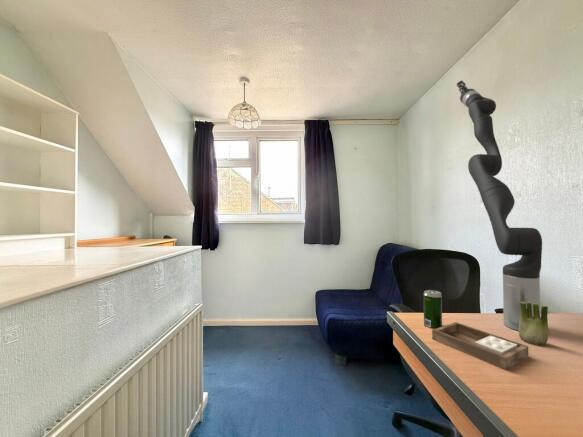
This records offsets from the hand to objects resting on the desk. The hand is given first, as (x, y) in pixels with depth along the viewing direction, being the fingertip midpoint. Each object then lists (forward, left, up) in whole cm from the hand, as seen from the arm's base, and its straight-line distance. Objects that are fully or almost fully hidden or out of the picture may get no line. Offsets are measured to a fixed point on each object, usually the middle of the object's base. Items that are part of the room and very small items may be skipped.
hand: (461, 90), depth 147 cm
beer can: (+73, +29, -110) cm, 136 cm away
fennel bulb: (+60, +50, -110) cm, 135 cm away
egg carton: (+77, +49, -109) cm, 142 cm away
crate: (+77, +44, -110) cm, 141 cm away
